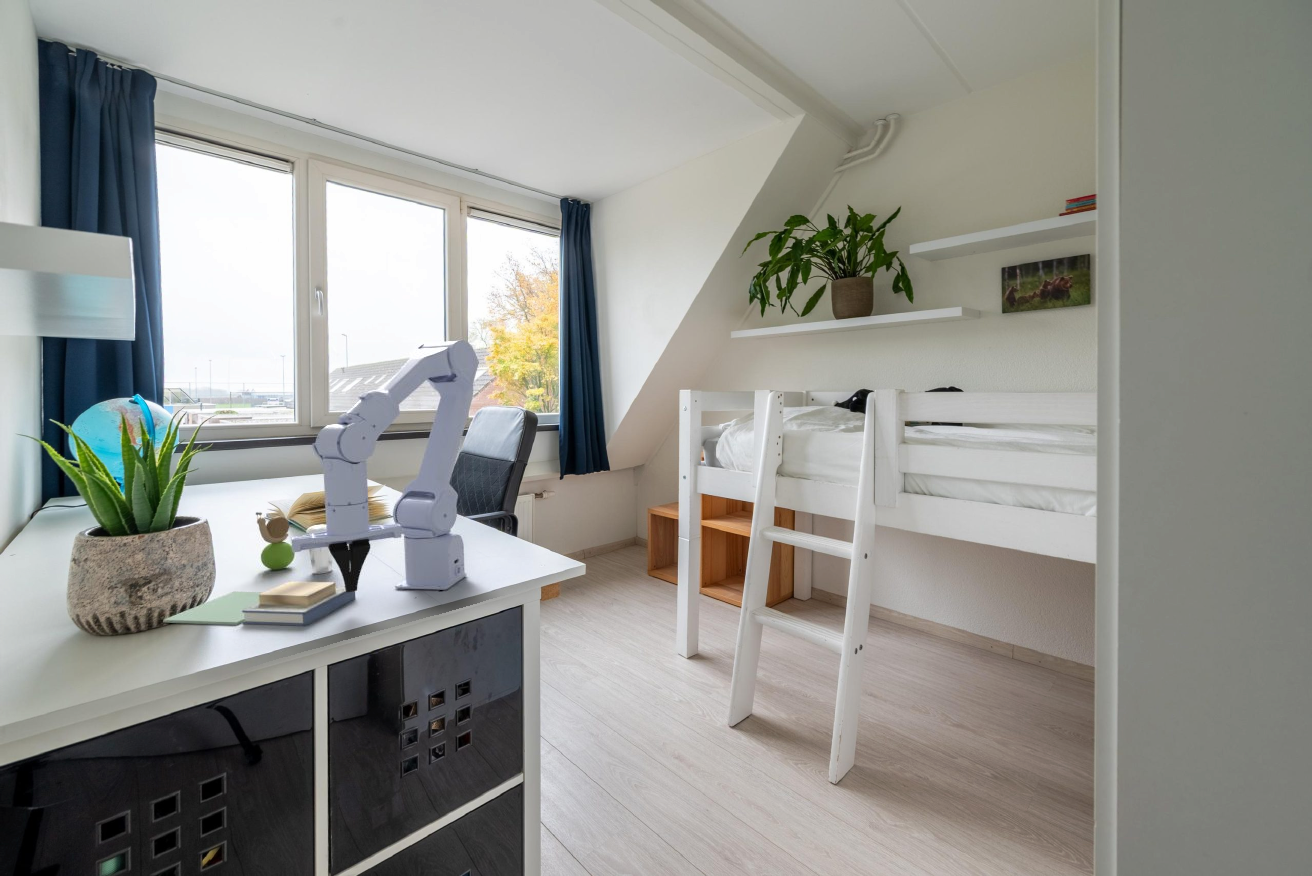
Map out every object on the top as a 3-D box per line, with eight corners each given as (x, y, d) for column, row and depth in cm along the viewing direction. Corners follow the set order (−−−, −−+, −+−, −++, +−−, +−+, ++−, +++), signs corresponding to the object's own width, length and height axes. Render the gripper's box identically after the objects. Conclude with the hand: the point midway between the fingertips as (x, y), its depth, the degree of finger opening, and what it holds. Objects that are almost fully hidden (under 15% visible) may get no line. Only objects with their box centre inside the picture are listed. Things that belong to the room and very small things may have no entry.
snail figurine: (249, 574, 103) (245, 512, 102) (279, 564, 109) (276, 505, 109) (273, 575, 102) (269, 513, 101) (302, 565, 108) (298, 506, 107)
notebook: (355, 598, 90) (354, 586, 89) (305, 625, 79) (304, 612, 78) (299, 596, 91) (299, 585, 90) (242, 623, 80) (242, 610, 80)
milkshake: (344, 566, 107) (341, 516, 106) (325, 575, 102) (322, 523, 101) (322, 566, 108) (319, 516, 107) (302, 575, 102) (299, 522, 101)
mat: (299, 595, 91) (299, 593, 91) (236, 624, 79) (236, 622, 79) (234, 593, 92) (234, 591, 92) (163, 622, 81) (163, 619, 80)
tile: (335, 591, 87) (335, 582, 87) (308, 605, 81) (307, 595, 81) (290, 590, 88) (289, 581, 88) (259, 604, 82) (258, 594, 82)
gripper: (393, 494, 90) (397, 574, 91) (288, 504, 82) (293, 592, 82) (402, 500, 84) (406, 585, 85) (290, 511, 76) (295, 606, 77)
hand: (351, 589), depth 83 cm, fingers closed
